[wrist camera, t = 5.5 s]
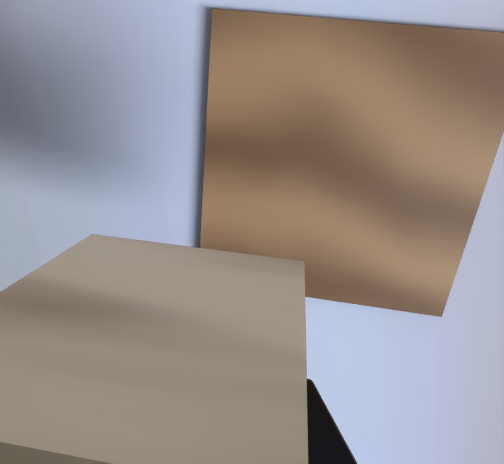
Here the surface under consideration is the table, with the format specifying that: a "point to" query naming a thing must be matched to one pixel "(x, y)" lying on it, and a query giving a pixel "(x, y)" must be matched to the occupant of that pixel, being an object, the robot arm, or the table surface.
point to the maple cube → (154, 358)
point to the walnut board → (350, 150)
